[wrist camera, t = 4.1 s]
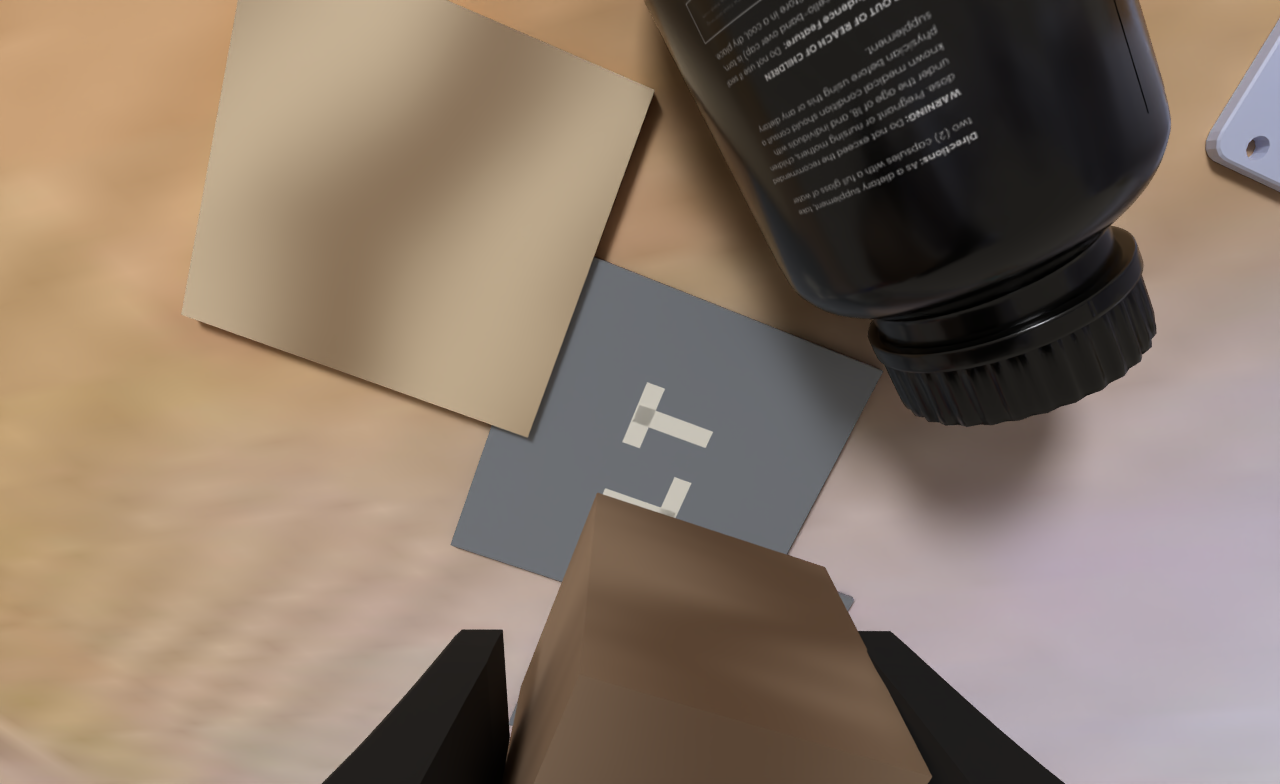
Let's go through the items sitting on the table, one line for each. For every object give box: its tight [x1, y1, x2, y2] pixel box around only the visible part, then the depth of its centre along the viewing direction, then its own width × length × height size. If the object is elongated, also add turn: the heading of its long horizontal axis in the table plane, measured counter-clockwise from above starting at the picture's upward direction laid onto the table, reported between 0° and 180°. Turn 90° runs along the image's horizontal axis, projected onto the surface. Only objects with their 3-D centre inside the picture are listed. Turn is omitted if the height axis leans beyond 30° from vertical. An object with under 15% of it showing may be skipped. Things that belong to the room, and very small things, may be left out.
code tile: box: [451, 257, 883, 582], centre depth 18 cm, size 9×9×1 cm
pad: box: [181, 0, 655, 438], centre depth 16 cm, size 9×9×1 cm
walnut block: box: [502, 493, 932, 784], centre depth 9 cm, size 4×4×4 cm
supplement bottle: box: [644, 0, 1171, 427], centre depth 12 cm, size 7×7×12 cm
